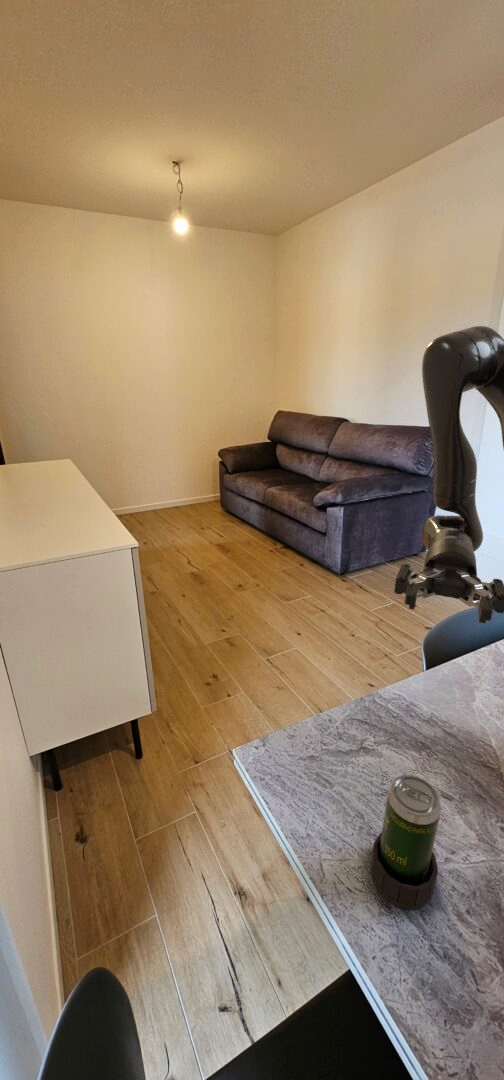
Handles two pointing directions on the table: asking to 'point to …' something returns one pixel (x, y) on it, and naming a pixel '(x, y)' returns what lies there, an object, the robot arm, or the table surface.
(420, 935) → the table surface
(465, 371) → the robot arm
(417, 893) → the coaster dock
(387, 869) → the beer can
